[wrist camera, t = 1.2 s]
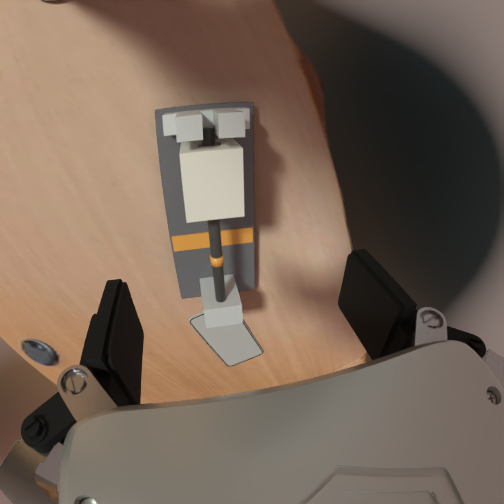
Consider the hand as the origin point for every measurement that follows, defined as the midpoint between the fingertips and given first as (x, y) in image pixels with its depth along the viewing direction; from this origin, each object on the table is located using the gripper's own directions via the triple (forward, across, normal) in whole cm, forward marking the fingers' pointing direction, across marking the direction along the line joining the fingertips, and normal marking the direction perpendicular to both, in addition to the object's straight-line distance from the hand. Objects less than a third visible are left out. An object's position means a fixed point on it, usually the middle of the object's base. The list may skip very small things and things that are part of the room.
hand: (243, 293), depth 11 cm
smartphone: (+23, -1, +28) cm, 37 cm away
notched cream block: (+19, 0, 0) cm, 19 cm away
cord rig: (+22, 0, +5) cm, 23 cm away
